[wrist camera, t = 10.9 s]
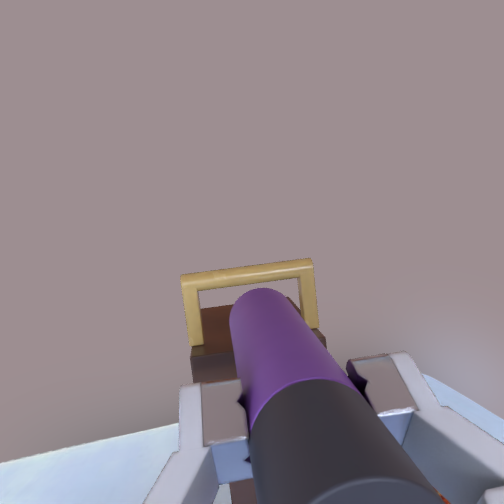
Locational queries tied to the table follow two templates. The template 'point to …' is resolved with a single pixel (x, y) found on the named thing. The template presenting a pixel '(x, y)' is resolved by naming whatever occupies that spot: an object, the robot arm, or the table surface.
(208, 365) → the stand
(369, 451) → the glue stick
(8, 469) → the table surface
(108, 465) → the table surface
